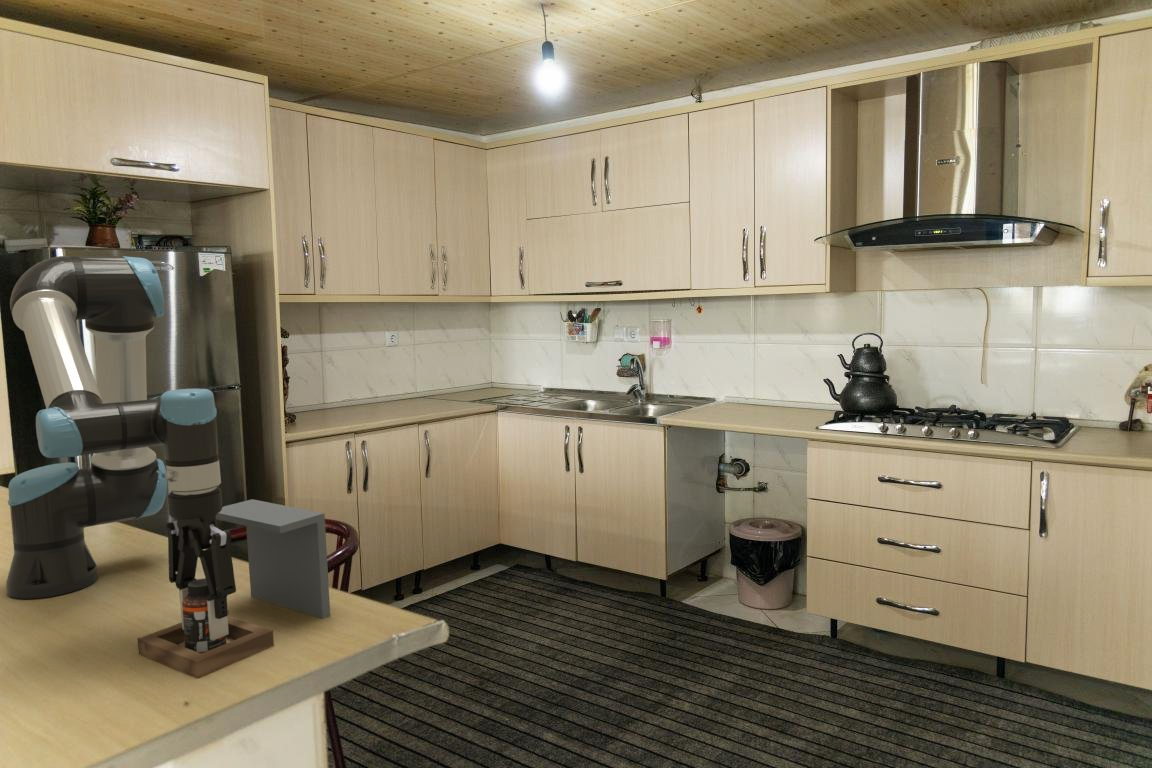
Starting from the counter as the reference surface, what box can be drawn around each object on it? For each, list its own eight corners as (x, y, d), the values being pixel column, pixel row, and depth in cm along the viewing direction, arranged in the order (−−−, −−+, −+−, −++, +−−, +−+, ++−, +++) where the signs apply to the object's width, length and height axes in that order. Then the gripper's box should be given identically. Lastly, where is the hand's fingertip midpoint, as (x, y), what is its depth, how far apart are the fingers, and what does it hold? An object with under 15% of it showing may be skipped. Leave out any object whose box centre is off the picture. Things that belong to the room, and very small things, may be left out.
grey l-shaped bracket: (214, 610, 146) (207, 510, 144) (258, 594, 153) (252, 499, 151) (286, 633, 135) (280, 526, 133) (330, 615, 143) (324, 513, 140)
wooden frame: (138, 653, 129) (137, 638, 128) (214, 625, 139) (213, 610, 139) (198, 678, 120) (196, 661, 120) (273, 645, 131) (272, 630, 130)
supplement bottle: (211, 660, 126) (205, 589, 125) (177, 658, 127) (171, 587, 126) (234, 644, 132) (229, 576, 131) (202, 642, 133) (196, 574, 132)
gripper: (136, 487, 129) (147, 627, 132) (209, 502, 118) (221, 654, 121) (181, 477, 135) (191, 611, 138) (255, 491, 124) (265, 636, 127)
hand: (205, 631), depth 129 cm, fingers open, 7 cm apart
